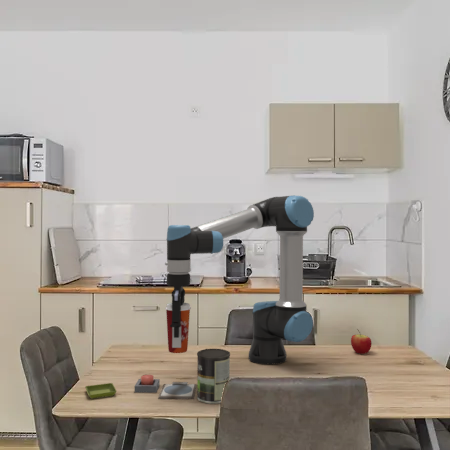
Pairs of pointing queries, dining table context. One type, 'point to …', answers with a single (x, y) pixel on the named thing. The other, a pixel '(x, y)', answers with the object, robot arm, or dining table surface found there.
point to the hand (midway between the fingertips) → (178, 344)
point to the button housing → (147, 386)
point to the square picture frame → (178, 391)
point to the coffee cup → (184, 327)
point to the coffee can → (212, 374)
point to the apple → (361, 343)
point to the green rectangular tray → (101, 390)
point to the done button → (147, 380)
